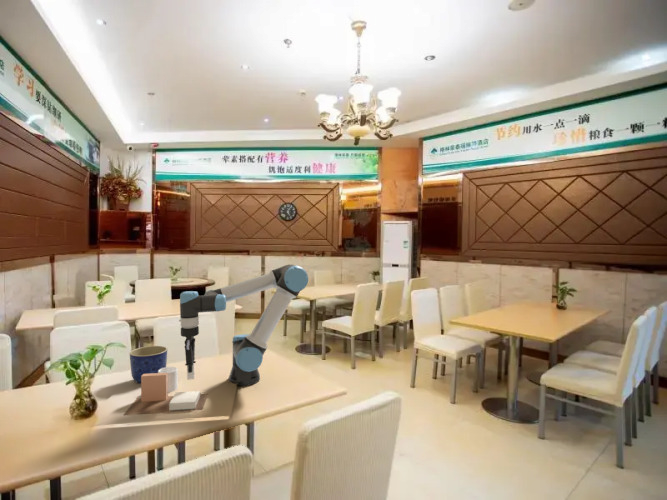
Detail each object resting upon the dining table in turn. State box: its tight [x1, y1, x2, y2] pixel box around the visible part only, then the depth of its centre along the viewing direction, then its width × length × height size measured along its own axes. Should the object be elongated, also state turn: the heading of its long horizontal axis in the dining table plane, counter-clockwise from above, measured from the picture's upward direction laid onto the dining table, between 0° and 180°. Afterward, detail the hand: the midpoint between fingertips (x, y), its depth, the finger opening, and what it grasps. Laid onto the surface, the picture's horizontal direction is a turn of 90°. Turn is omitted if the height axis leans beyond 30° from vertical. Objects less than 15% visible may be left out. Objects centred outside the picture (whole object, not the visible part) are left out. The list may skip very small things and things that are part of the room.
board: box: [123, 393, 209, 416], centre depth 159 cm, size 30×16×1 cm, turn 100°
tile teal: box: [169, 390, 201, 411], centre depth 158 cm, size 10×3×11 cm
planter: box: [129, 345, 168, 384], centre depth 187 cm, size 17×17×15 cm
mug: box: [158, 366, 179, 393], centre depth 173 cm, size 12×8×10 cm
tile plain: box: [140, 373, 169, 402], centre depth 163 cm, size 10×3×11 cm, turn 100°
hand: (190, 378), depth 167 cm, fingers closed
